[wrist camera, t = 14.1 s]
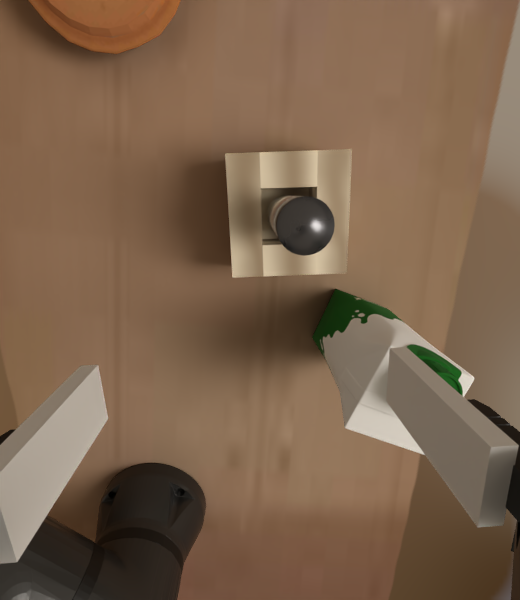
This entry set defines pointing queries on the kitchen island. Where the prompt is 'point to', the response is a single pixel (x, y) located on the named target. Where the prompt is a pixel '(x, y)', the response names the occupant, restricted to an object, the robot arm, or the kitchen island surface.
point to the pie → (107, 21)
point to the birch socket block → (292, 182)
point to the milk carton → (374, 364)
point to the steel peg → (301, 223)
